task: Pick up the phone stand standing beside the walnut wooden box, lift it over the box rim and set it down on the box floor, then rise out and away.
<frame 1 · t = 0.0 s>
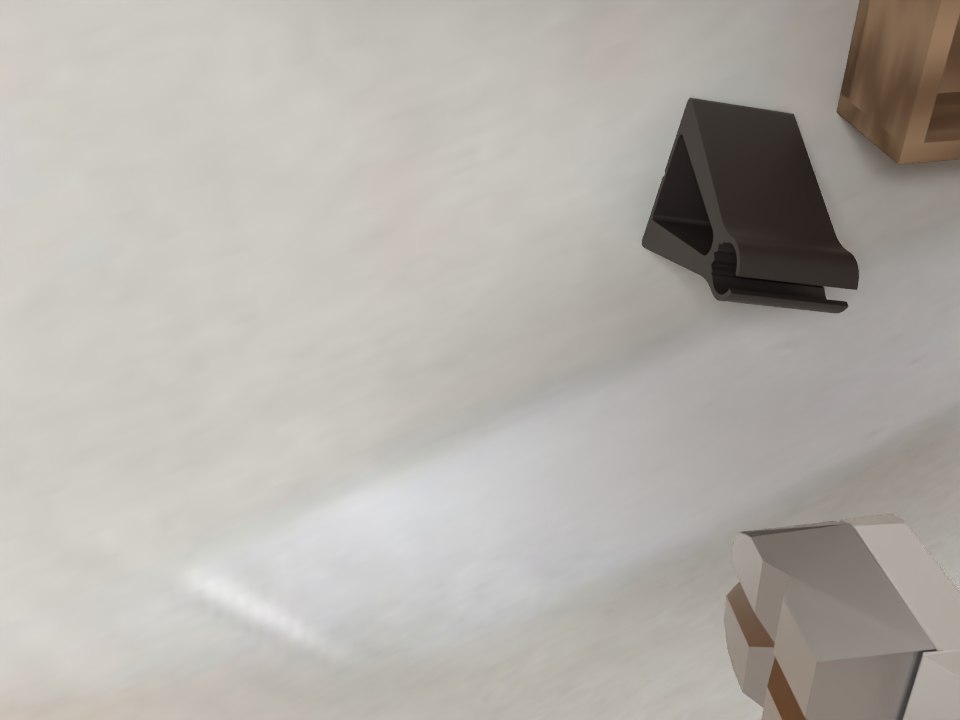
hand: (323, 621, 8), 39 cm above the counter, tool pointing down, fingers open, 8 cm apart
phone stand: (711, 178, 49), on the counter
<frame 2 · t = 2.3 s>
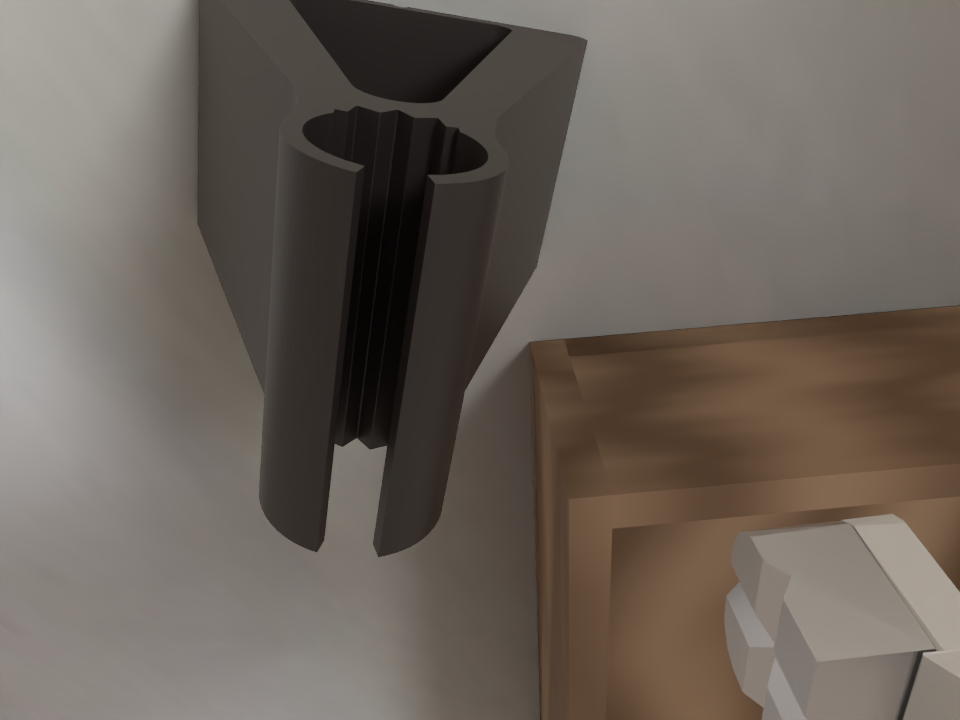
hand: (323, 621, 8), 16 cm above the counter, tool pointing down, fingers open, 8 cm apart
walnut box: (803, 551, 31), on the counter
phone stand: (385, 127, 22), on the counter
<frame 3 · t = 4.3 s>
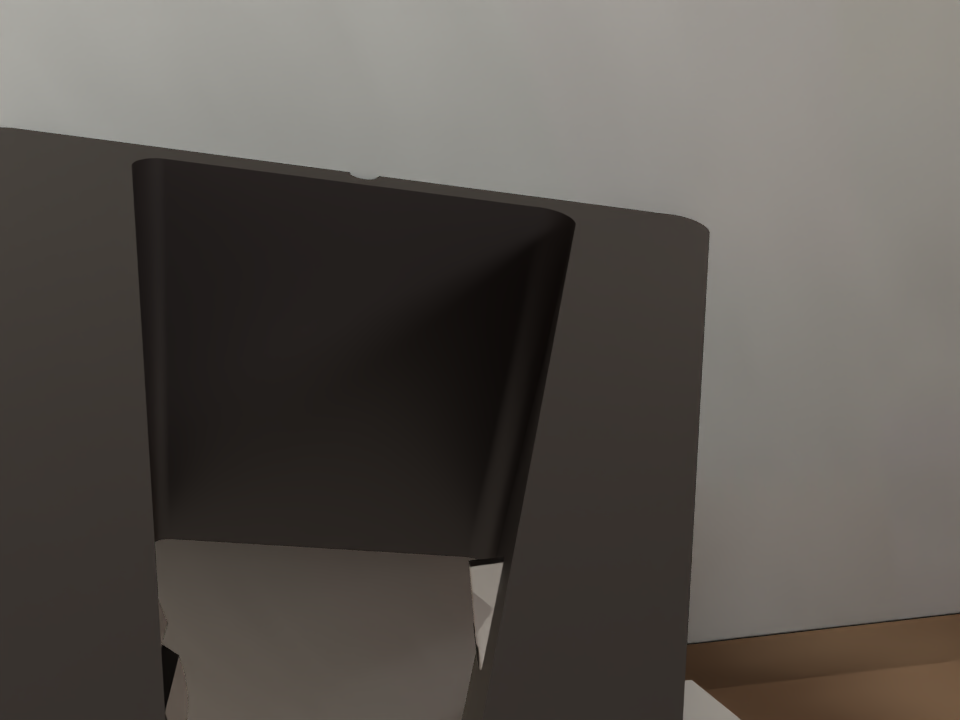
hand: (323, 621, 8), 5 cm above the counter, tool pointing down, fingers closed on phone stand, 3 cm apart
phone stand: (344, 366, 13), on the counter, touching gripper
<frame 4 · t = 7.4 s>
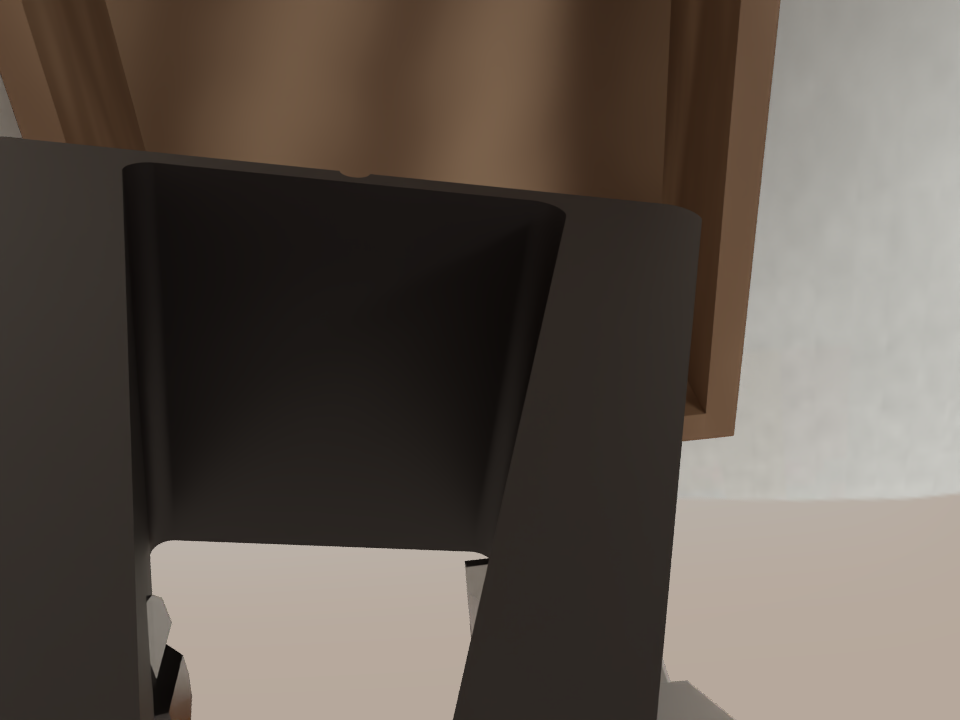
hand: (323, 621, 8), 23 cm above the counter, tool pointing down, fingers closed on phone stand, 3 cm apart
walnut box: (408, 113, 29), on the counter
phone stand: (342, 365, 13), point 18 cm above the counter, touching gripper
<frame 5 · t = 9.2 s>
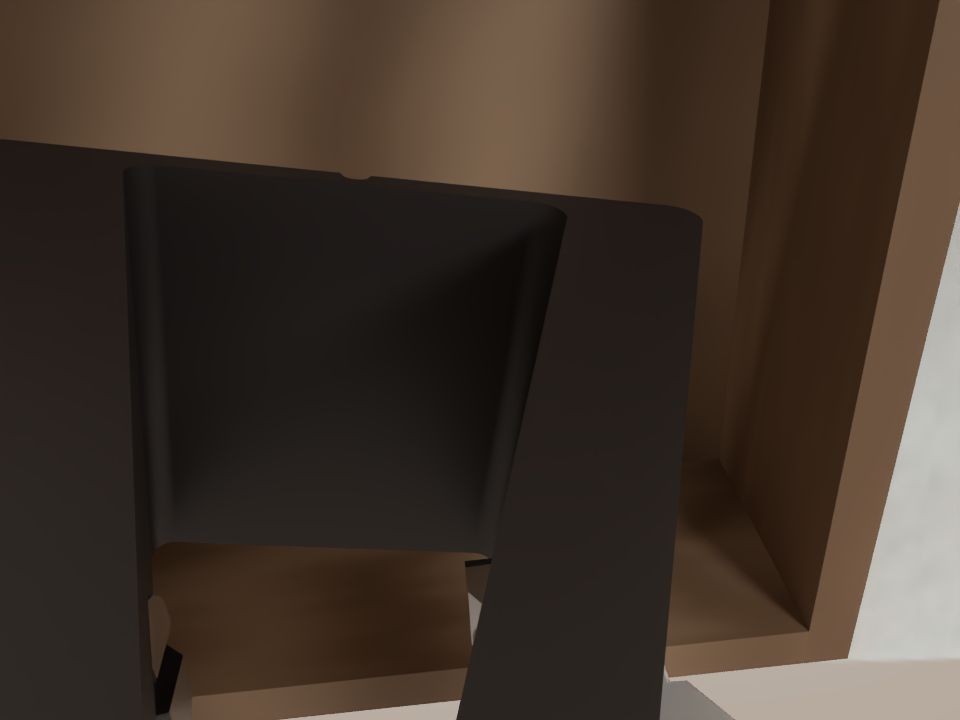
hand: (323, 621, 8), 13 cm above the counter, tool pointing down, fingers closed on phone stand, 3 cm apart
walnut box: (368, 169, 20), on the counter
phone stand: (343, 366, 13), point 8 cm above the counter, touching gripper
when the fingers open (8 cm above the counter, at t = 10.8 s): phone stand drops 2 cm, resting on walnut box.
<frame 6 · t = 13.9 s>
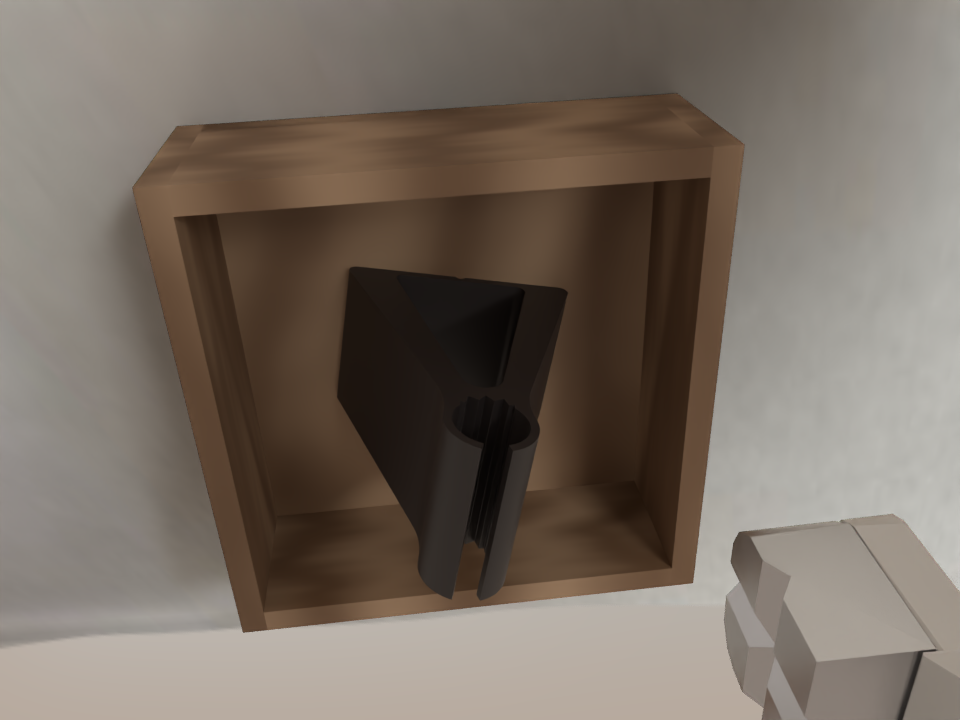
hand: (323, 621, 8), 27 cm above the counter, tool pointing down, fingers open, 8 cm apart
walnut box: (446, 330, 38), on the counter
phone stand: (449, 338, 37), point 1 cm above the counter, touching walnut box
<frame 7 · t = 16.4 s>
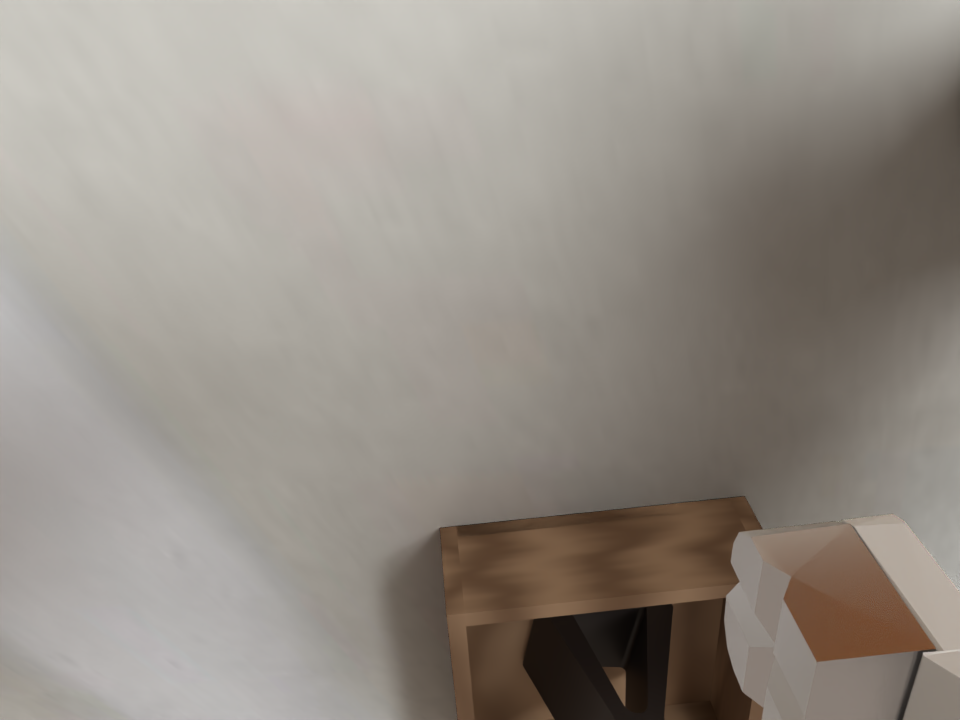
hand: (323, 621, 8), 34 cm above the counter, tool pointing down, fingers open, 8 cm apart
walnut box: (591, 619, 58), on the counter
phone stand: (594, 628, 57), point 1 cm above the counter, touching walnut box
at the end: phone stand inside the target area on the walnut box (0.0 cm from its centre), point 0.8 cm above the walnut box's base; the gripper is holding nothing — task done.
